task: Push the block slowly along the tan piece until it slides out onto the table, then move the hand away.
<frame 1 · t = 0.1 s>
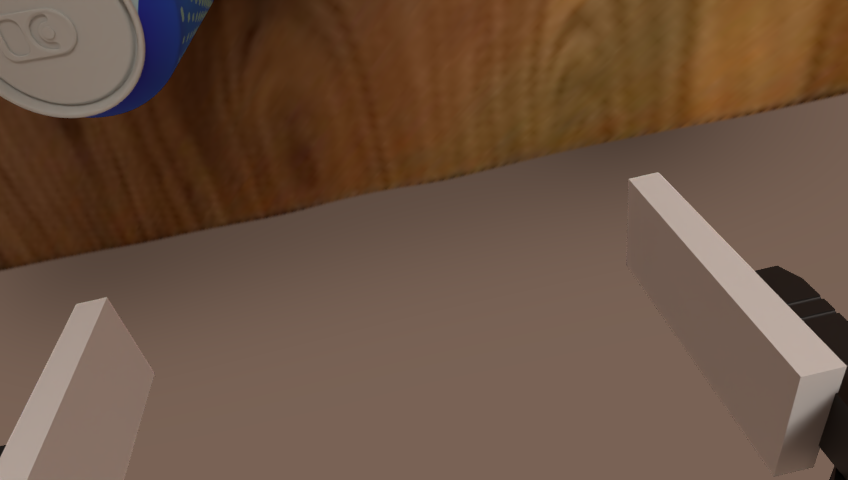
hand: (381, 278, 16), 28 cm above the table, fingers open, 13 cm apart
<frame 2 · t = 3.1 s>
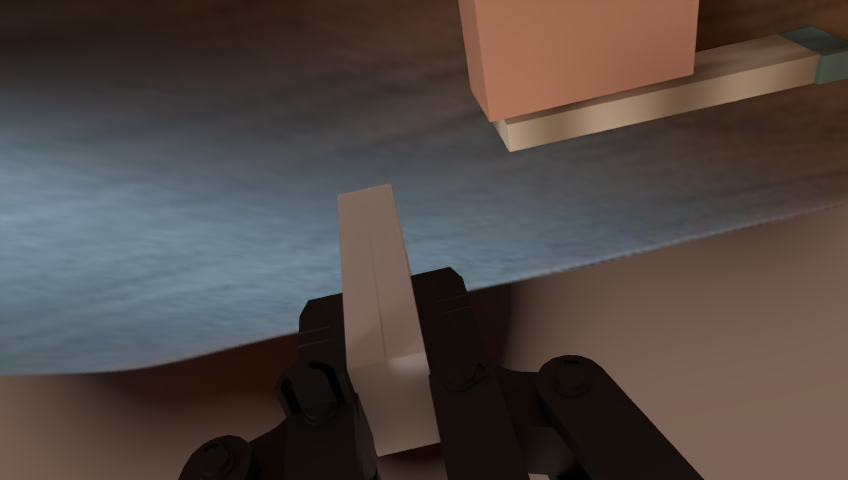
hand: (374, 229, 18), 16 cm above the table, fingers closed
block: (557, 0, 31), on the table
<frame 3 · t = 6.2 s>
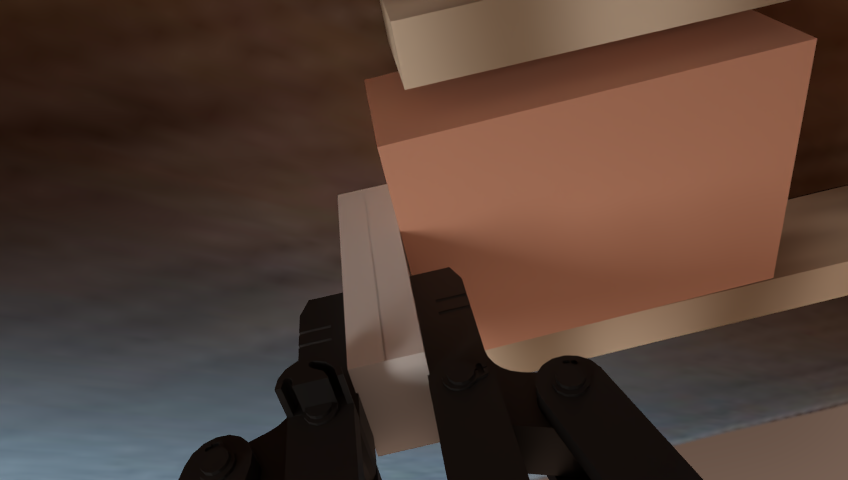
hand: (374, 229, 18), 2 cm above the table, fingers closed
tan piece: (700, 111, 19), on the table
block: (546, 144, 19), on the table, touching gripper
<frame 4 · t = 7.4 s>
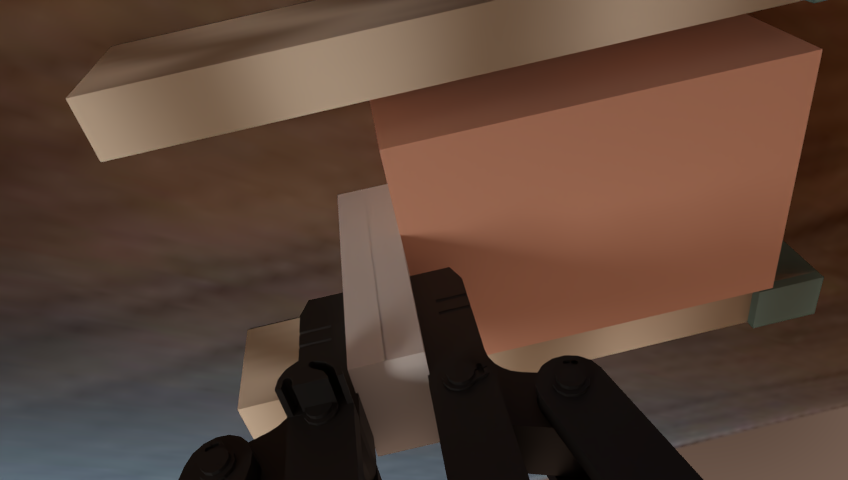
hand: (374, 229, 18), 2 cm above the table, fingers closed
tan piece: (486, 164, 19), on the table
block: (547, 149, 19), on the table, touching gripper
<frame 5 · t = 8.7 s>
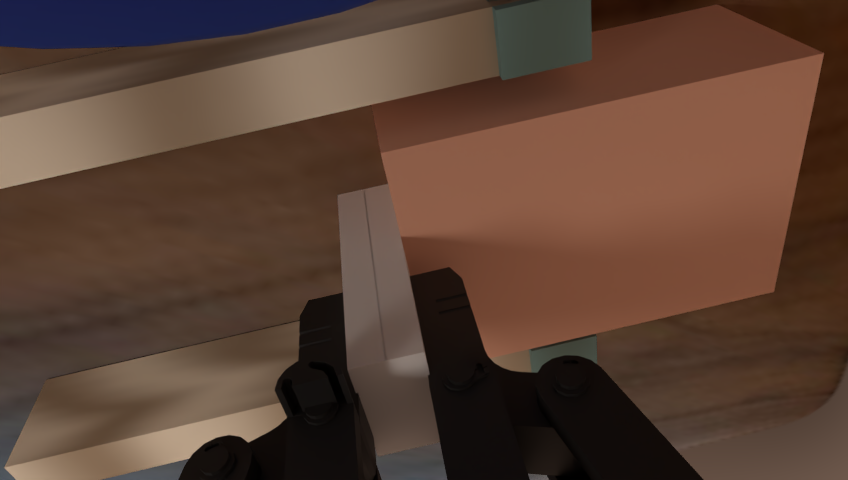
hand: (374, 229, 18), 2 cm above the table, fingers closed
tan piece: (263, 219, 19), on the table
block: (548, 152, 19), on the table, touching gripper
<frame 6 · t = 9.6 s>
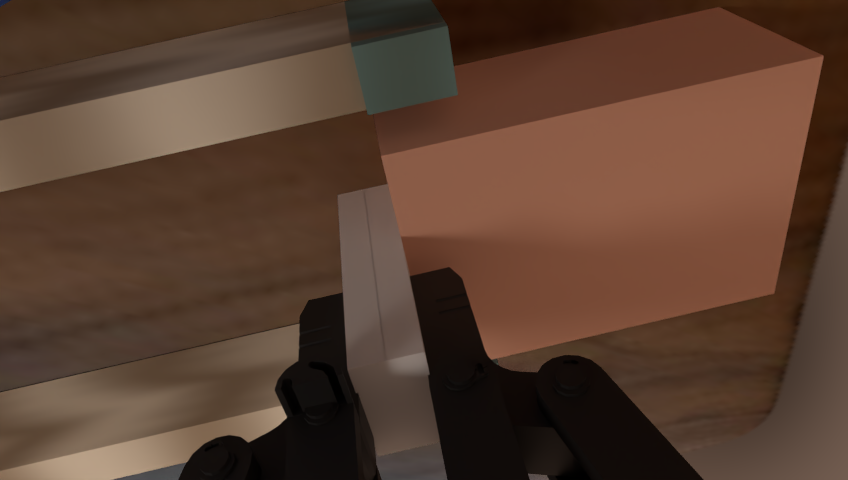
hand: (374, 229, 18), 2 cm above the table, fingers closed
tan piece: (166, 244, 19), on the table
block: (549, 154, 19), on the table, touching gripper
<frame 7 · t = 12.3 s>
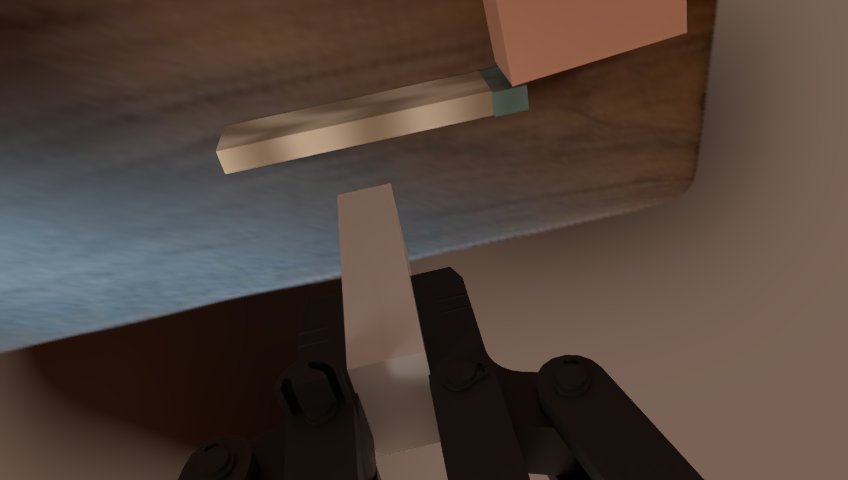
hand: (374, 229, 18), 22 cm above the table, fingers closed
tan piece: (351, 25, 35), on the table
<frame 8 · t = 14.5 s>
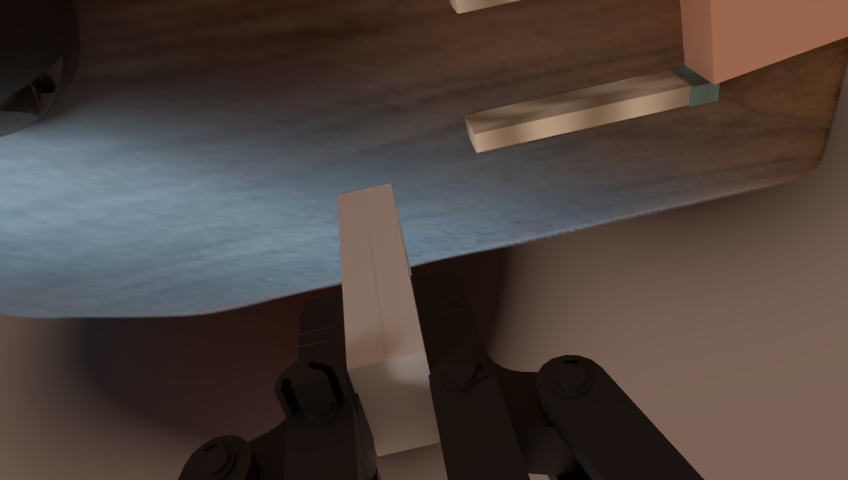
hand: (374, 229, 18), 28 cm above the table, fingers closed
tan piece: (578, 34, 44), on the table
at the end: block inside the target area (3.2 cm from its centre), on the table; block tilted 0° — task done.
